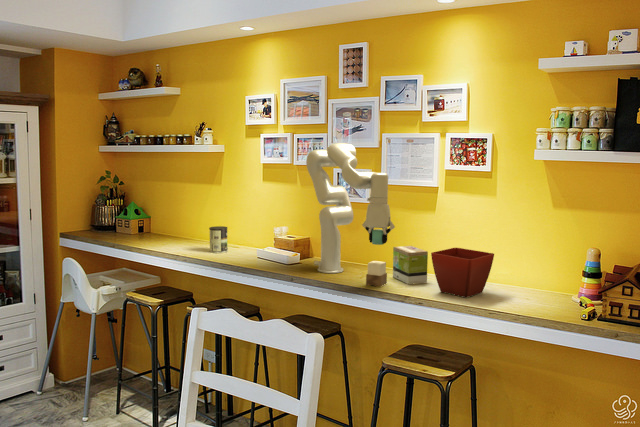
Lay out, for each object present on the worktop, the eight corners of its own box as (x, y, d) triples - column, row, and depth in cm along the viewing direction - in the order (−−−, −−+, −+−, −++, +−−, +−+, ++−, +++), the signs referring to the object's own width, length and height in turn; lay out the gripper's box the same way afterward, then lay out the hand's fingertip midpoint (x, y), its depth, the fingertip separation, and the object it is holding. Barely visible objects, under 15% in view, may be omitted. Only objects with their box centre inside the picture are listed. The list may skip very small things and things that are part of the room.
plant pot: (468, 301, 218) (470, 259, 216) (428, 292, 231) (430, 252, 229) (493, 293, 231) (495, 253, 229) (454, 284, 244) (455, 247, 243)
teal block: (370, 244, 240) (370, 230, 240) (374, 242, 245) (374, 229, 244) (381, 245, 238) (382, 231, 237) (385, 243, 243) (385, 229, 242)
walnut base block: (366, 285, 242) (366, 274, 241) (371, 282, 248) (372, 271, 248) (381, 287, 239) (381, 276, 238) (386, 284, 245) (386, 273, 245)
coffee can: (225, 249, 326) (225, 225, 324) (229, 252, 316) (229, 228, 315) (208, 250, 322) (207, 226, 320) (211, 253, 312) (211, 228, 311)
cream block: (367, 274, 242) (367, 263, 241) (373, 271, 247) (373, 260, 246) (380, 275, 239) (380, 264, 238) (385, 273, 244) (385, 262, 243)
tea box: (391, 277, 258) (392, 246, 256) (410, 276, 261) (411, 245, 259) (408, 284, 244) (408, 251, 242) (427, 283, 247) (428, 250, 246)
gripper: (357, 201, 240) (356, 242, 242) (394, 202, 232) (393, 245, 234) (363, 199, 247) (363, 240, 249) (400, 201, 239) (399, 243, 241)
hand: (378, 242), depth 241 cm, fingers closed on teal block, 5 cm apart
